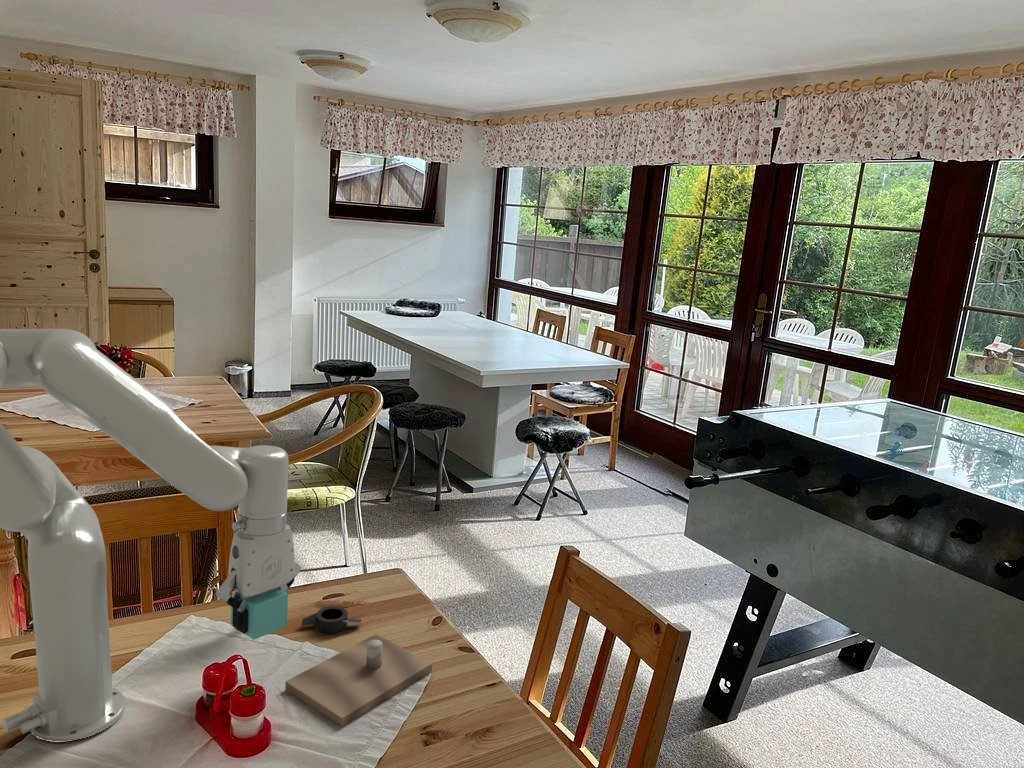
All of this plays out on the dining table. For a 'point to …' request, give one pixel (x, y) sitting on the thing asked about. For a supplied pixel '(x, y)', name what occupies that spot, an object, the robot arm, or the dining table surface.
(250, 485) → the robot arm
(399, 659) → the stub board
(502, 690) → the dining table surface
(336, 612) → the dark grey ring piece
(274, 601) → the turquoise rounded cube
